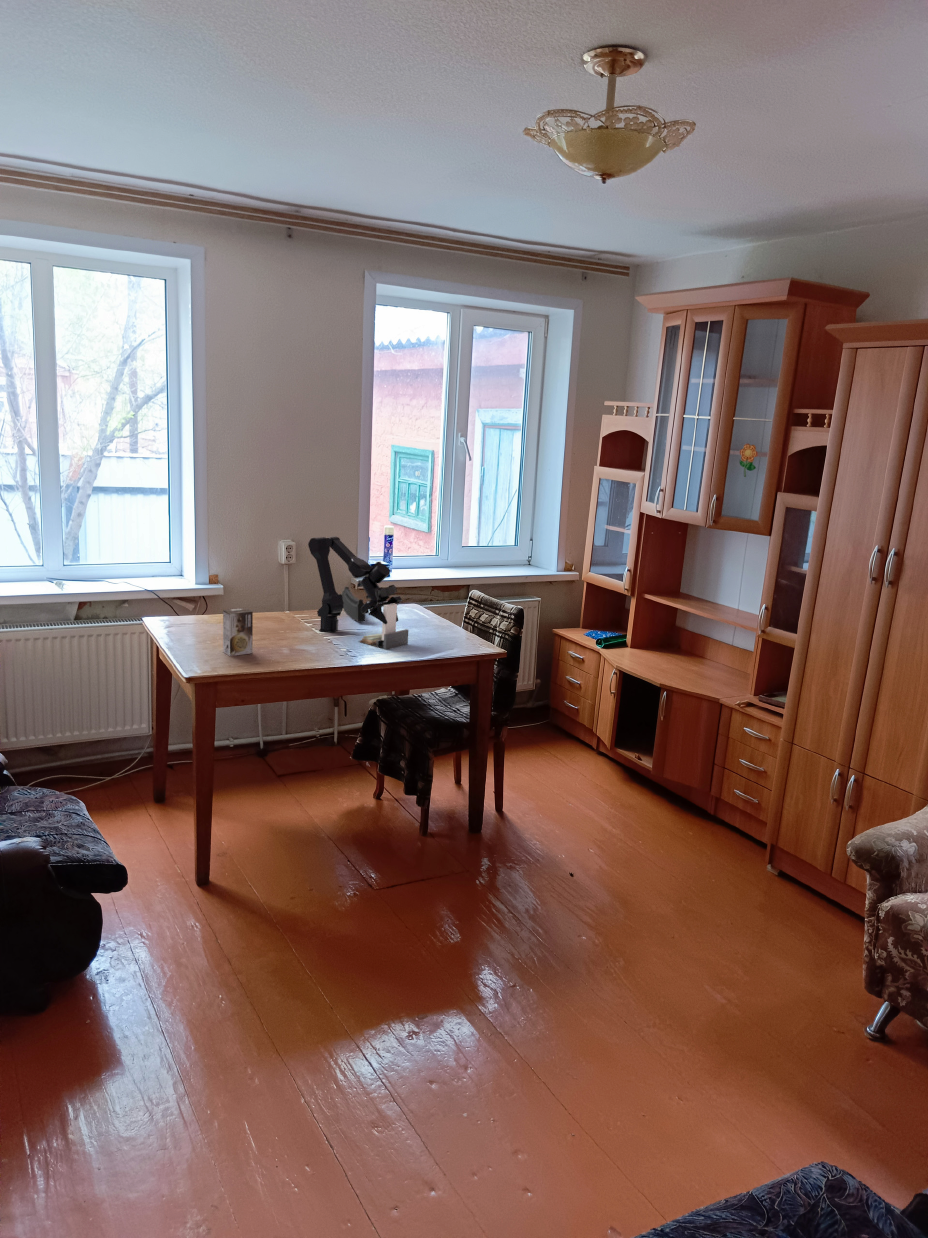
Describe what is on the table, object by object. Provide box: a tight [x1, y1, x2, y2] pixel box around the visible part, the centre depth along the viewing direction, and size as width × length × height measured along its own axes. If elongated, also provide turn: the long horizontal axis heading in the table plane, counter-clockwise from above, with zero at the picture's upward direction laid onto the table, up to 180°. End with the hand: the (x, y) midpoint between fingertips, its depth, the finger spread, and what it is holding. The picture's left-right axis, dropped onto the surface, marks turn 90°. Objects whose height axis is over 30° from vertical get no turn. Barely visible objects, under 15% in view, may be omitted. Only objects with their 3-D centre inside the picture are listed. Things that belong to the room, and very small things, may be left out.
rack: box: [358, 628, 410, 651], centre depth 347 cm, size 15×13×7 cm
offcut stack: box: [359, 633, 382, 646], centre depth 350 cm, size 6×11×2 cm, turn 143°
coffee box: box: [222, 607, 254, 657], centre depth 321 cm, size 9×6×16 cm
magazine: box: [341, 586, 366, 623], centre depth 392 cm, size 17×3×30 cm
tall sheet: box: [381, 603, 398, 640], centre depth 344 cm, size 2×6×14 cm, turn 143°
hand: (392, 622), depth 343 cm, fingers closed on tall sheet, 6 cm apart
